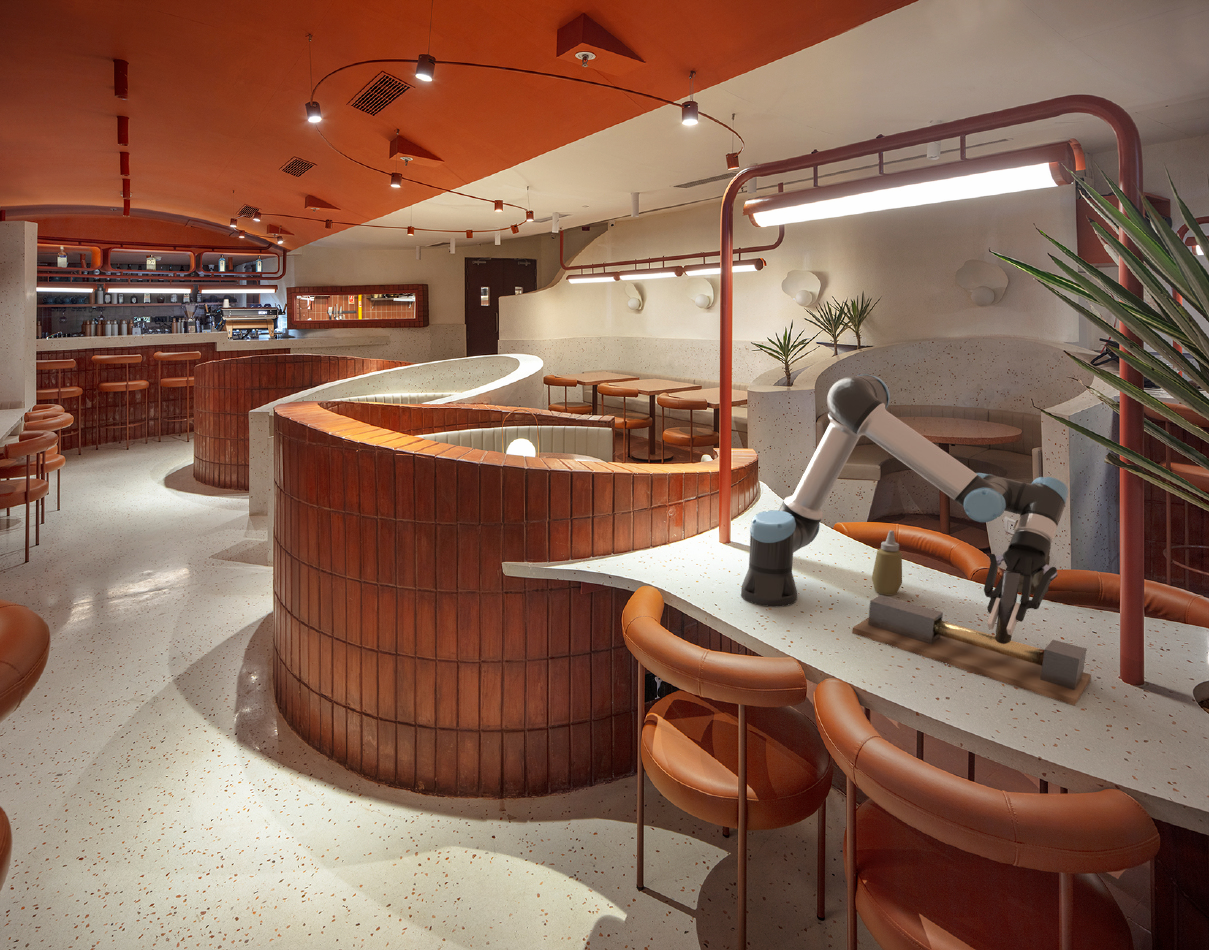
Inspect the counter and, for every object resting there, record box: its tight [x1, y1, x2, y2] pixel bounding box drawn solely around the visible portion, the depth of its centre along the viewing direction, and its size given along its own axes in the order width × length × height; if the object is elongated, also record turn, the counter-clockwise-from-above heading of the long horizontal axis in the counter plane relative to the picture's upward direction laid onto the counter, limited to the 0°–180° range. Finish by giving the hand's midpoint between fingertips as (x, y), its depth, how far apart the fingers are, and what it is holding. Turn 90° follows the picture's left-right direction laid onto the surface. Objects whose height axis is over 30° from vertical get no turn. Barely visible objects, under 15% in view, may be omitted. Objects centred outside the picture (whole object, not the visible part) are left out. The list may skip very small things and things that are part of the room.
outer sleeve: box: [868, 594, 944, 644], centre depth 162 cm, size 15×6×6 cm, turn 45°
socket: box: [1040, 639, 1088, 690], centre depth 140 cm, size 6×7×7 cm
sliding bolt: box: [934, 569, 1045, 666], centre depth 149 cm, size 27×3×19 cm, turn 45°
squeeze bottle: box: [871, 530, 903, 596], centre depth 190 cm, size 8×8×18 cm
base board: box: [851, 616, 1092, 707], centre depth 154 cm, size 46×14×2 cm, turn 45°
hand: (999, 629), depth 144 cm, fingers closed on sliding bolt, 3 cm apart
